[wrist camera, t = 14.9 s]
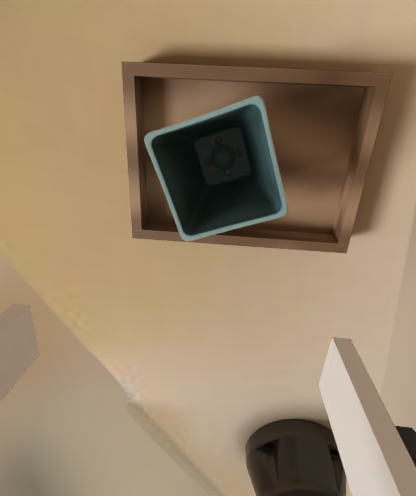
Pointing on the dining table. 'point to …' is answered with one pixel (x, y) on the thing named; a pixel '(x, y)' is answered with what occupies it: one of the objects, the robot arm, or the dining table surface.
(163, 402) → the dining table surface
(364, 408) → the robot arm
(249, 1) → the dining table surface
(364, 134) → the holder tray
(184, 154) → the flower pot
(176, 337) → the dining table surface
